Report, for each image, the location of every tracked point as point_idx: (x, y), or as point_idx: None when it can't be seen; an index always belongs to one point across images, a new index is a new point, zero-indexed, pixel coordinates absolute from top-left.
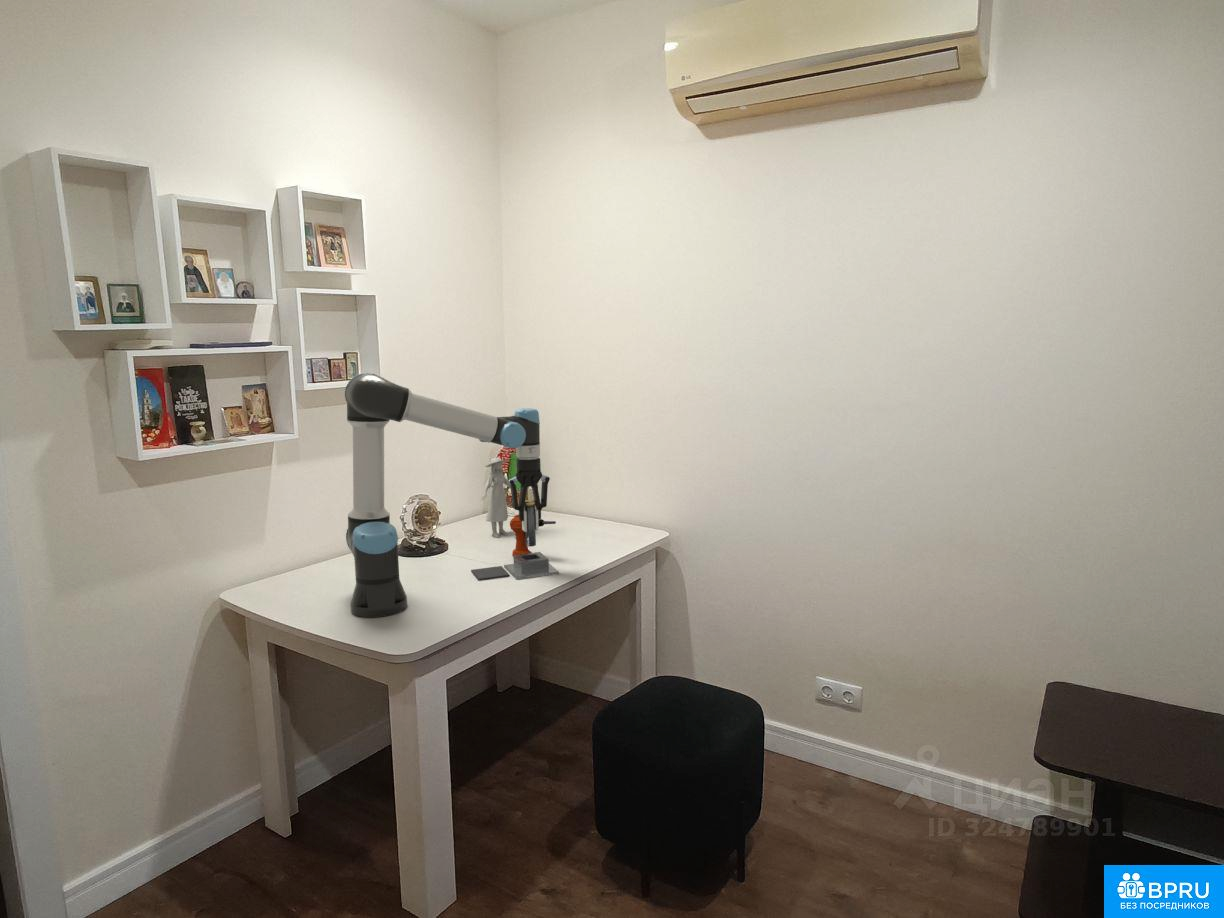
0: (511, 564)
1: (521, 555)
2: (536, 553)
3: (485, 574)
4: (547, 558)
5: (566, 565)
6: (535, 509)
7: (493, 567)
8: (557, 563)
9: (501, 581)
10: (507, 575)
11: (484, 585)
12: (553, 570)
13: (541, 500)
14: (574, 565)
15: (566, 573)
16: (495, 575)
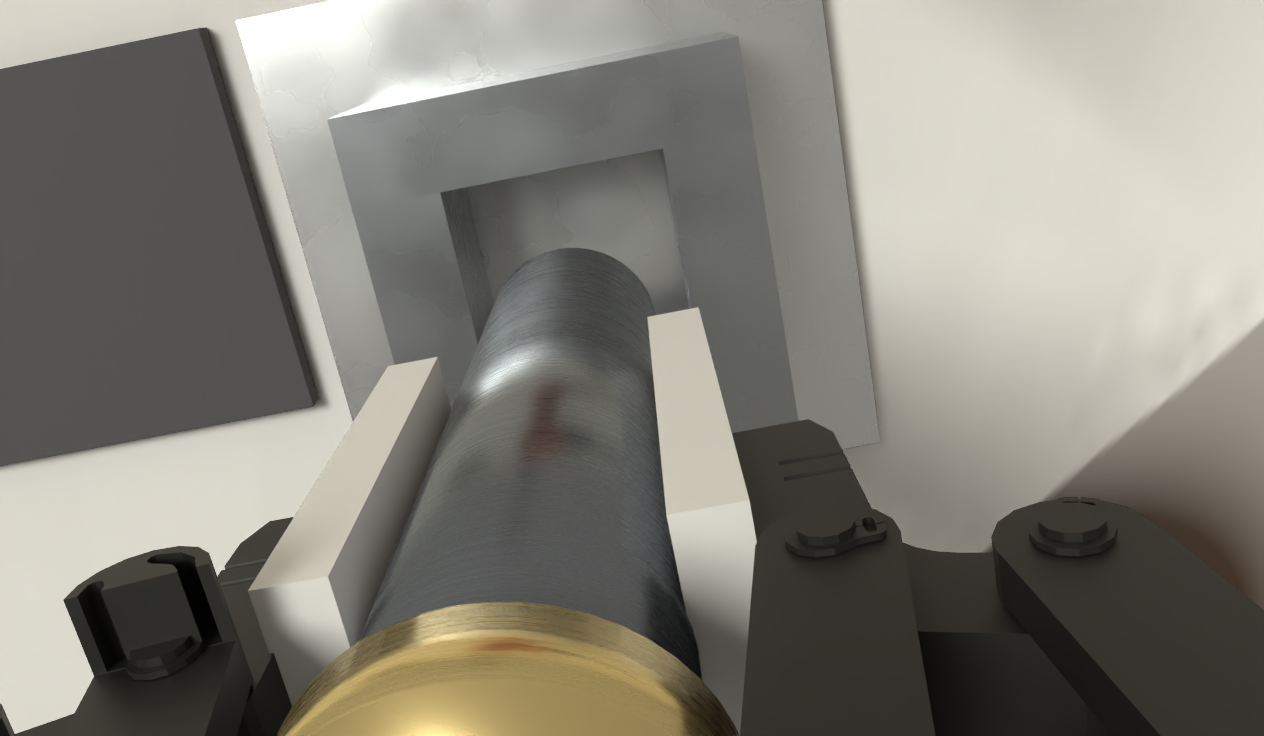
0: (333, 21)
1: (446, 165)
2: (675, 114)
3: (24, 339)
4: (790, 392)
5: (1040, 129)
6: (726, 631)
7: (97, 77)
8: (952, 11)
9: (231, 536)
10: (289, 407)
11: (59, 617)
12: (828, 395)
13: (1083, 690)
14: (1135, 153)
15: (959, 430)
16: (148, 399)
